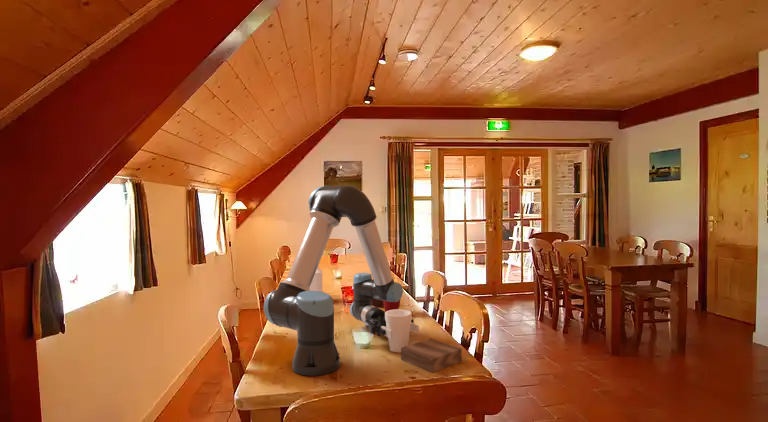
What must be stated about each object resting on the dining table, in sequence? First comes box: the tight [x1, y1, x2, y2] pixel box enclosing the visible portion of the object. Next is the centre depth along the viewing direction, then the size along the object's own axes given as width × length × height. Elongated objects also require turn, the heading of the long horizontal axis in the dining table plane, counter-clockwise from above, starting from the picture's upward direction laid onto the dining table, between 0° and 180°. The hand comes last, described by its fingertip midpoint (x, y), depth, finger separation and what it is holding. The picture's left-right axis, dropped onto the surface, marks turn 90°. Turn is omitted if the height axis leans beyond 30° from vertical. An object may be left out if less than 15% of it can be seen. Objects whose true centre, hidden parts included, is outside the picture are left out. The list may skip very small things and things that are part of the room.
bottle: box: [310, 266, 323, 292], centre depth 222 cm, size 12×12×25 cm
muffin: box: [372, 299, 384, 309], centre depth 214 cm, size 12×11×10 cm
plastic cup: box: [383, 299, 401, 312], centre depth 198 cm, size 11×11×12 cm
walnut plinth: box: [400, 338, 463, 373], centre depth 141 cm, size 14×14×4 cm
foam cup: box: [384, 308, 413, 353], centre depth 152 cm, size 10×9×13 cm
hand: (404, 332), depth 148 cm, fingers open, 10 cm apart
